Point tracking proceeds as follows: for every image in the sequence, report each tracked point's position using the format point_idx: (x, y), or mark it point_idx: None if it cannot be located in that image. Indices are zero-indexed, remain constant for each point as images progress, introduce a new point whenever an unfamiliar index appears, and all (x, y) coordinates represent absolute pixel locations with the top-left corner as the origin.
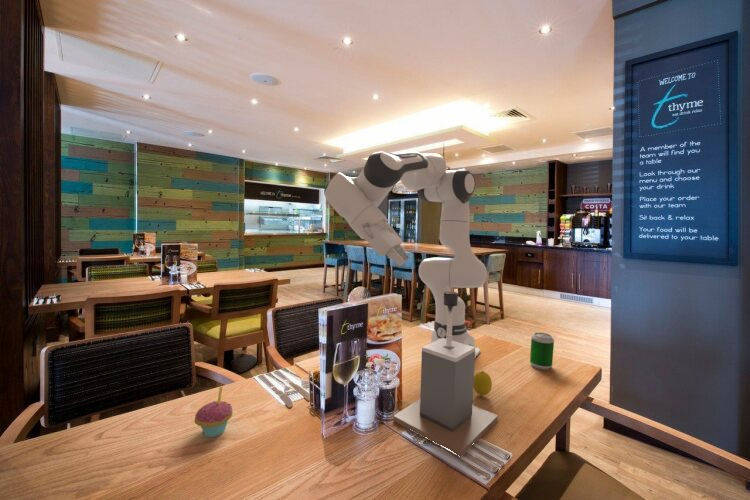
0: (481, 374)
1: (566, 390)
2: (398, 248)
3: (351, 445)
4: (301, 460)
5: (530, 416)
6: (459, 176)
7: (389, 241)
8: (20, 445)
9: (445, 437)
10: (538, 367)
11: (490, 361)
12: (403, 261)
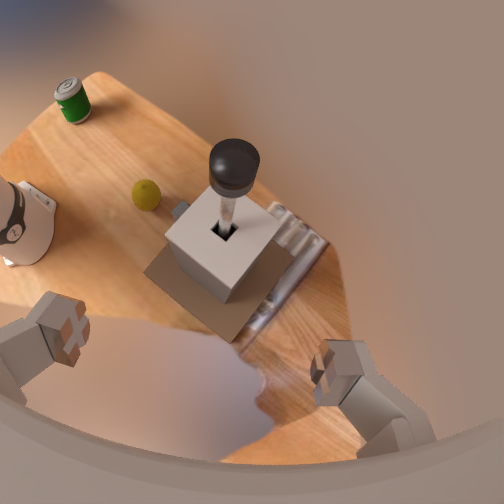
0: (147, 189)
1: (141, 106)
2: (8, 388)
3: (289, 391)
4: (319, 434)
5: (199, 158)
6: None
7: (474, 476)
8: None
9: (270, 272)
10: (86, 117)
11: (53, 172)
12: (363, 343)
